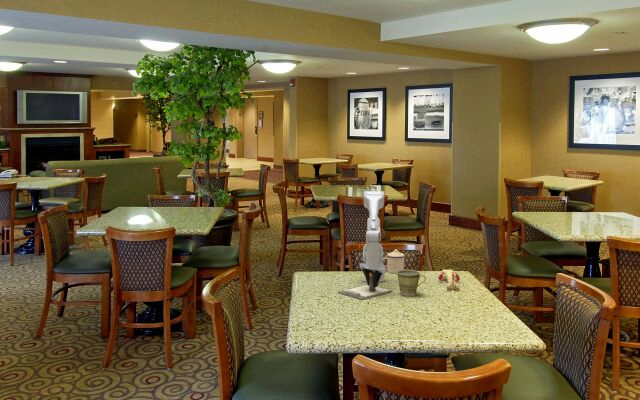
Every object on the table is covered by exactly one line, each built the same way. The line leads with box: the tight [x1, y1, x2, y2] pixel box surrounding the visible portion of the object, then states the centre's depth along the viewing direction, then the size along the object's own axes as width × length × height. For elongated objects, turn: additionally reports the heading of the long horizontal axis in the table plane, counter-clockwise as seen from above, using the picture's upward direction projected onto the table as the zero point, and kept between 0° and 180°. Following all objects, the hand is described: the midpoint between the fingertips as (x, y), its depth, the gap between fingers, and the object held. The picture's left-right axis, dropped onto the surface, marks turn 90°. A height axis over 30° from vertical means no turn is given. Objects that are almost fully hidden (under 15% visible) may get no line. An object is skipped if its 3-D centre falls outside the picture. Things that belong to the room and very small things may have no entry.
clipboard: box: [337, 284, 393, 301], centre depth 270 cm, size 20×15×2 cm
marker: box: [369, 273, 376, 291], centre depth 269 cm, size 3×3×8 cm
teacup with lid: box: [382, 249, 406, 275], centre depth 310 cm, size 12×9×12 cm
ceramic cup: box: [396, 269, 427, 297], centre depth 267 cm, size 13×10×10 cm
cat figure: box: [437, 269, 461, 292], centre depth 285 cm, size 10×9×25 cm
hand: (372, 286), depth 270 cm, fingers closed on marker, 3 cm apart
